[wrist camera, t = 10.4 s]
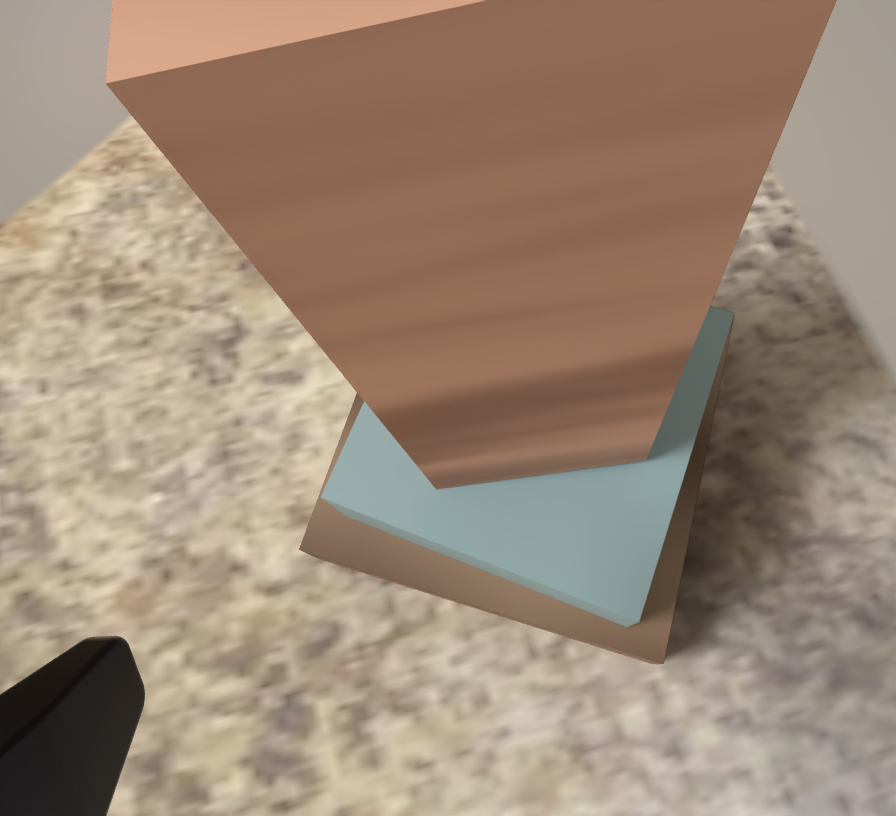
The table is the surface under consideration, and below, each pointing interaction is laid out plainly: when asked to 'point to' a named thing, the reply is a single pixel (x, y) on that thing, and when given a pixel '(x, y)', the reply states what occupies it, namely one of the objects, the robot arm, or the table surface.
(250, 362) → the table surface
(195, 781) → the table surface
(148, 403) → the table surface
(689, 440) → the tower top block
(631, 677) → the table surface
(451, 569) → the tower base slab
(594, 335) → the terracotta block
